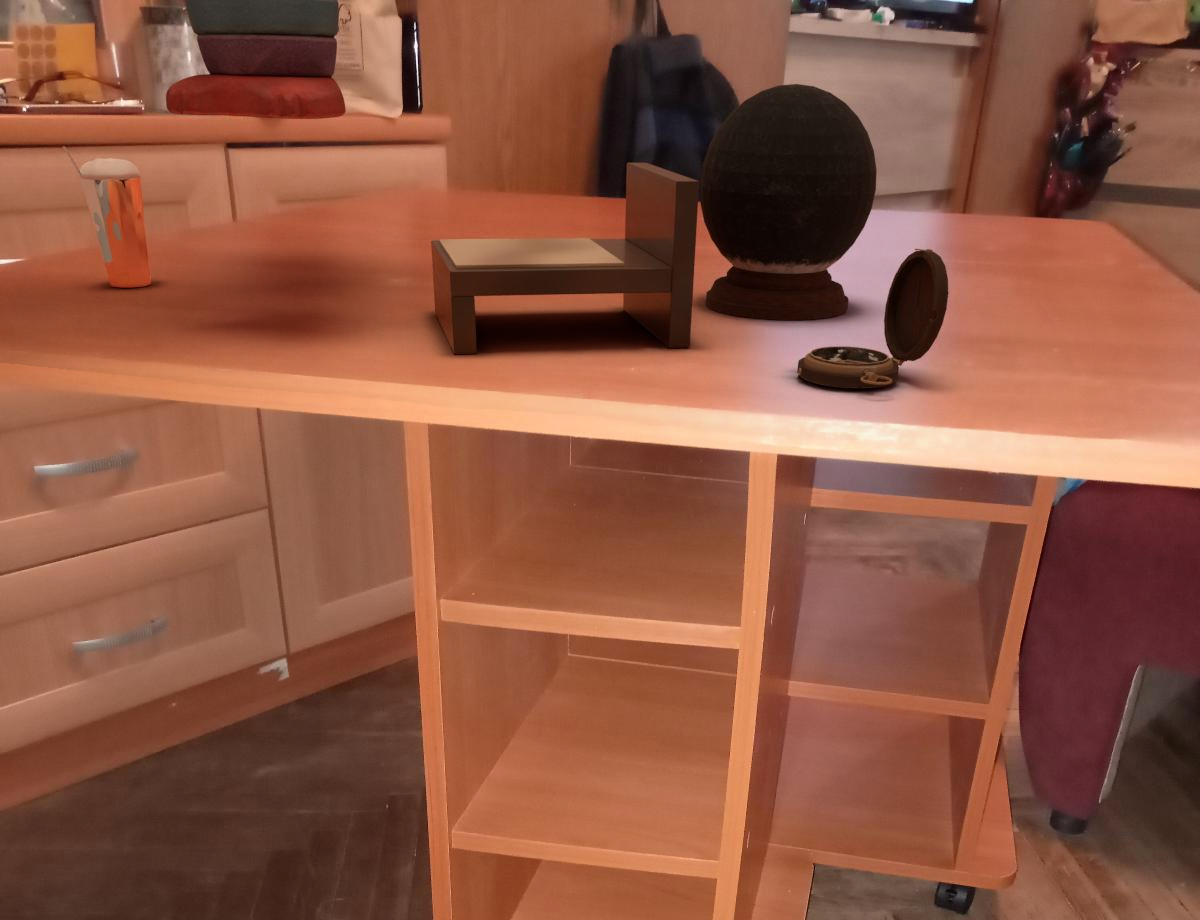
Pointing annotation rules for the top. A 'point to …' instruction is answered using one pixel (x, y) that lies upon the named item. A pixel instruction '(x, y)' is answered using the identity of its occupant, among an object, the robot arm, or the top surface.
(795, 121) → the dark ball on base
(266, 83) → the stacking bear
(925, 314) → the compass
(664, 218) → the dollhouse bed
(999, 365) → the top surface
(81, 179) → the milkshake
